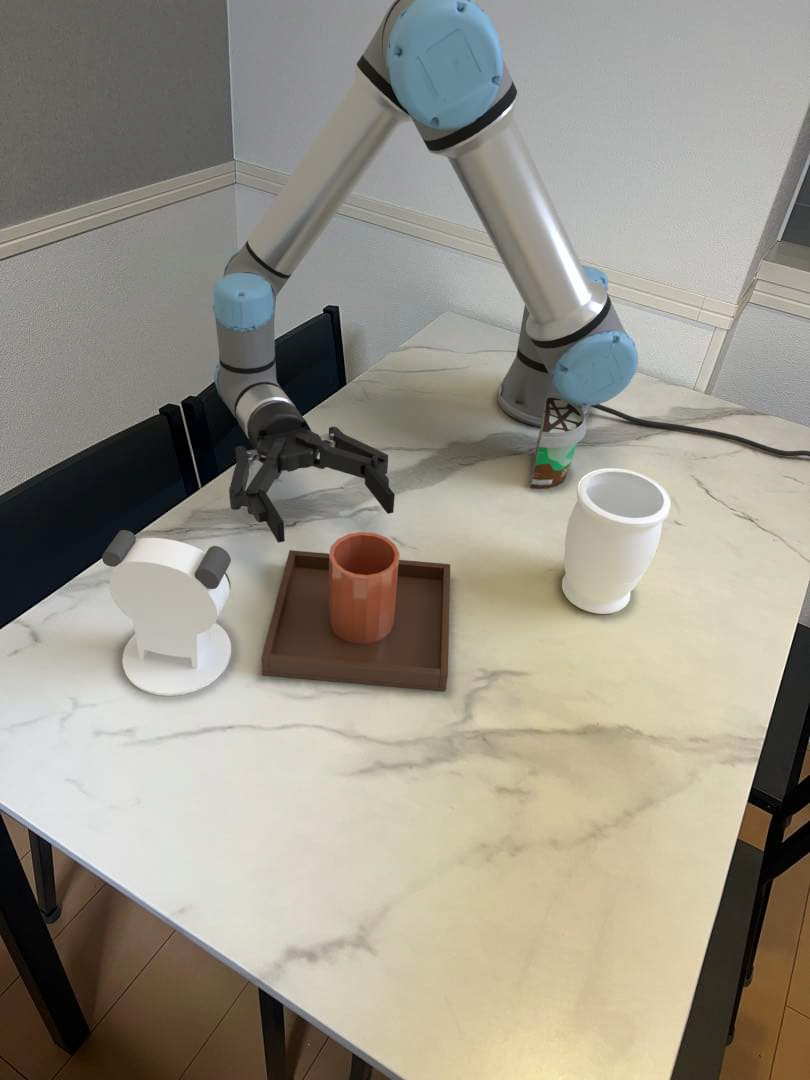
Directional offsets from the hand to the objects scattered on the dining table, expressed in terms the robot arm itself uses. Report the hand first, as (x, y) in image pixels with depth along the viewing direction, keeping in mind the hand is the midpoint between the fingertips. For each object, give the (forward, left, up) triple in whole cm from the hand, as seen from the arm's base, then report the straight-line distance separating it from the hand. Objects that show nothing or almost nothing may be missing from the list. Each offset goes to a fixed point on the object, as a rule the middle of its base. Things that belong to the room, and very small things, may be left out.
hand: (337, 518), depth 91 cm
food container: (-29, -27, -10) cm, 41 cm away
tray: (-4, +7, -10) cm, 12 cm away
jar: (-32, -2, -10) cm, 33 cm away
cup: (-4, +7, -9) cm, 12 cm away
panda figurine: (+15, +14, -10) cm, 23 cm away
